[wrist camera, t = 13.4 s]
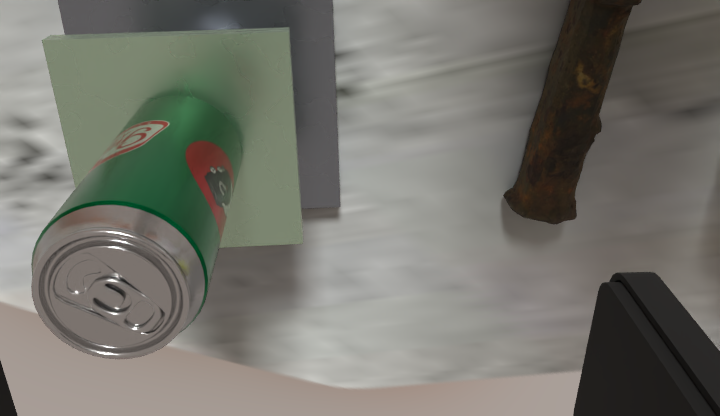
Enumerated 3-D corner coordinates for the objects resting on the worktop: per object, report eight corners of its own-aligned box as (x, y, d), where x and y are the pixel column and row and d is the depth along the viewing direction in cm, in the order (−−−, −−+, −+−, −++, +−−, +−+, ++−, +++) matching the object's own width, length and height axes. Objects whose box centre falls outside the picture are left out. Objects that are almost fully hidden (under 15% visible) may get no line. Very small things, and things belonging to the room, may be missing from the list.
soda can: (167, 67, 28) (75, 182, 17) (266, 138, 29) (238, 284, 19) (104, 156, 29) (-18, 313, 19) (201, 219, 31) (141, 397, 20)
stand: (61, -36, 35) (-22, -10, 26) (330, -44, 35) (334, -21, 27) (110, 206, 41) (56, 291, 32) (339, 196, 41) (345, 277, 33)
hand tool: (556, 203, 43) (583, 237, 39) (497, 194, 42) (518, 228, 38) (669, -118, 35) (718, -119, 31) (599, -135, 34) (639, -138, 30)
